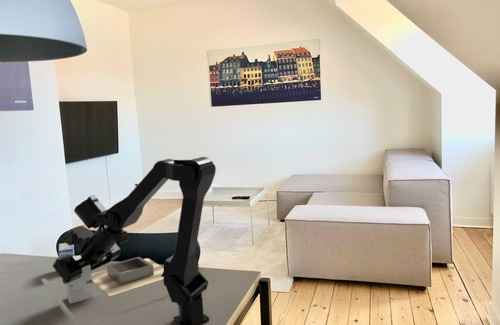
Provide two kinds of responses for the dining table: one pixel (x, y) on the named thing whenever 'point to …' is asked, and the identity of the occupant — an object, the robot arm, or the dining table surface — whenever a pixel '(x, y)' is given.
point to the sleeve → (133, 275)
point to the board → (114, 288)
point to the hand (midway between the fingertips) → (74, 276)
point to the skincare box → (80, 285)
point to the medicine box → (65, 250)
